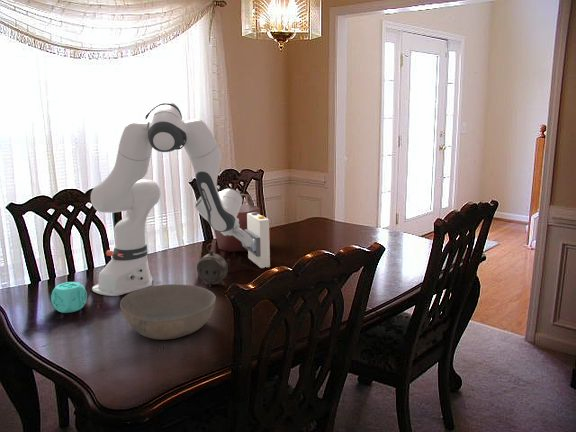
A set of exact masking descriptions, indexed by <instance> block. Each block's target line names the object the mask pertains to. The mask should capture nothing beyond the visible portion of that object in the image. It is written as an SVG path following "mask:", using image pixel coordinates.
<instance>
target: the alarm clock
mask: <svg viewBox="0 0 576 432" xmlns="http://www.w3.org/2000/svg"><path fill="white" fill-rule="evenodd" d="M210 245H211V246H213V247H214V249H213V250H210V249H209V248H208V246H210ZM206 250H207V251H208V252H209V253H207V254H205V255H204V256H203V257H202V258H200V259H199V260H198V263H197V265H196V272H197V275H198V277H199V278H200V280H202V283H201V284H204V283H206V284H209V285H208V288H211V287H212V285H217V284H218V283H221V285H222V286H225V285H226V284H225V283H224V281H223V280H224V279H225V278H226V276H227V275H228V271H229V270H228V269H229V268H228V263H227V261H226V260H225V258H224V257H223V256H222V255H220V254H218V253H214V252H215V251H216V245H215V244H213V243H209V244H207V246H206Z"/></svg>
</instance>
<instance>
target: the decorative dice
mask: <svg viewBox="0 0 576 432" xmlns="http://www.w3.org/2000/svg"><path fill="white" fill-rule="evenodd" d="M50 299H51V304H52V306H53V308H54V309H55V310H56V311H57V312H60V313H63V314H68V313H74V312H78V311H80V310H82V309H83V308H84V306H85V305H86V303H87V299H88V294H87V290H86V288H85V286H84V285H83V284H81V283H80V282H78V281H67V282H63V283H59V284H57V285H56V286H55V287H54V288H53V289H52V292H51V295H50Z"/></svg>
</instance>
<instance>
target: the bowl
mask: <svg viewBox="0 0 576 432" xmlns="http://www.w3.org/2000/svg"><path fill="white" fill-rule="evenodd" d="M216 301H217V296H216V294H215V293H214V292H212V291H211V290H209V289H208V288H205V287H202V286H197V285H191V284H179V283H178V284H176V283H175V284H172V283H171V284H159V285H152V286H149V287H145V288H142V289H139V290H135V291H132V292H129V293H127V294H125V296H124V297H122V298H121V300H120V303H119V308H120V311H121V314H122V315H123V318H124V319H125V321H126V323H127V324H128V325H129V326H130V327H131V328H132V330H134V331H135V332H136V333H138V334H139V335H141V336H143V337H144V338H148V339H153V340H160V341H161V340H162V341H165V340H174V339H178V338H181V337H184V336H188V335H191V334H193V333H196V331H199V330H200V329H201V328H202V327H203V326H204V325H205V324H207V322H208V321H209V319H210V318H211V316H212V315H213V314H212V313H213V311H214V309H215V306H216Z"/></svg>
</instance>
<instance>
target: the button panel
mask: <svg viewBox="0 0 576 432" xmlns="http://www.w3.org/2000/svg"><path fill="white" fill-rule="evenodd" d="M244 232H246V233H247V234H248V235H249V236H250V237H251V238H252V239H256V251H253V250H252V248H251V247H250V246H249V247H245V248H246V249H247V250H246V251H247V252H248V254H247V257H248V259H249V260H250V261H251V262H253V264H255V265H256V266H258V267H259V268H260V269H264V268H265V267H266V268H270V267H271V257H270V256H271V249H270V244H271V243H270V219H268V217H265V216H264V215H261V214H260V215H259V214H258V213H257V212H252V213H247V229H245V230H244Z"/></svg>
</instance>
